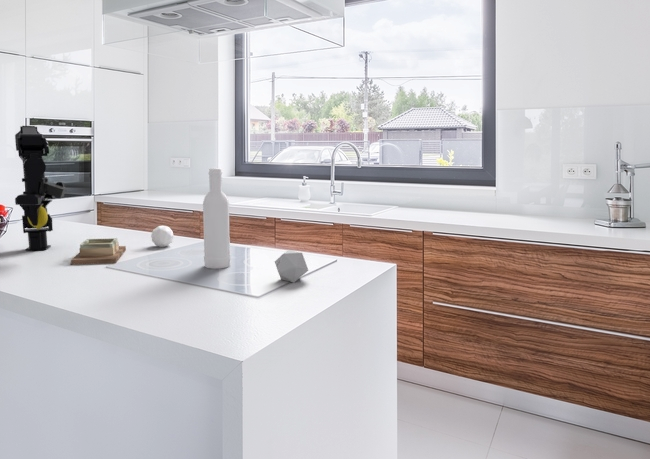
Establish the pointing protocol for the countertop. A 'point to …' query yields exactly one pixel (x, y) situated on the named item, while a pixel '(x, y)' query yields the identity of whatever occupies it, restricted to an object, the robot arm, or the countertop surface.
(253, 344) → the countertop surface
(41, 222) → the lemon
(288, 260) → the die
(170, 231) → the ball
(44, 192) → the robot arm
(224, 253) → the bottle
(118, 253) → the plinth
